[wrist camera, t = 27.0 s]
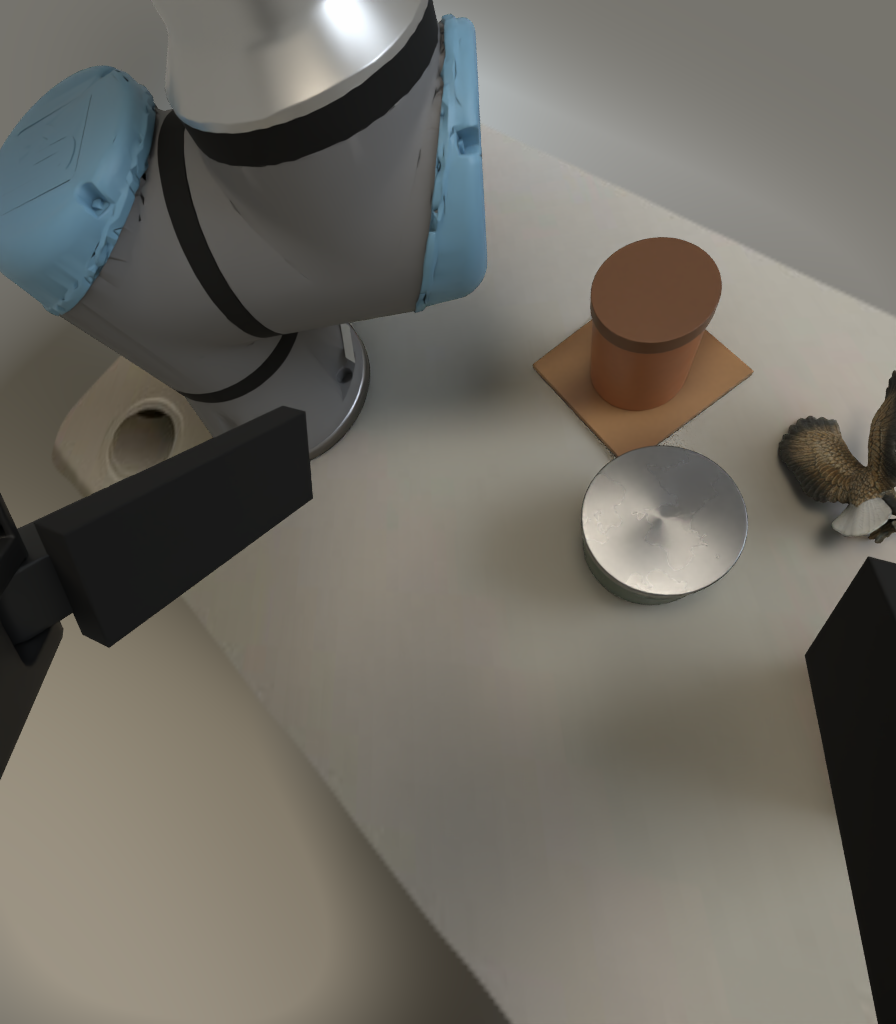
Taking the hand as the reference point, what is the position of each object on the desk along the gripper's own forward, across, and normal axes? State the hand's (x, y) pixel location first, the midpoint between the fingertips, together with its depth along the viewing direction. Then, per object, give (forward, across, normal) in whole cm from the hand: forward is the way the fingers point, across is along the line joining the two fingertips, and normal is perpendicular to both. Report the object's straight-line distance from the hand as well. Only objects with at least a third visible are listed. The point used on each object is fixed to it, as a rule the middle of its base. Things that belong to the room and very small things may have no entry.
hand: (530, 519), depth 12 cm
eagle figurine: (+27, +15, -8) cm, 32 cm away
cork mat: (+31, 0, -4) cm, 31 cm away
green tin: (+22, +4, -13) cm, 26 cm away
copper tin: (+30, 0, -4) cm, 30 cm away
